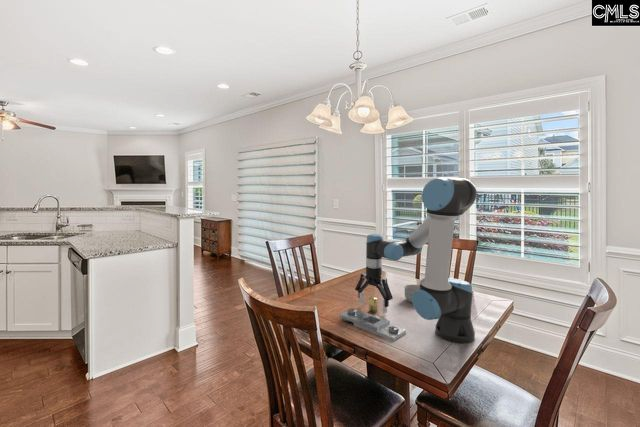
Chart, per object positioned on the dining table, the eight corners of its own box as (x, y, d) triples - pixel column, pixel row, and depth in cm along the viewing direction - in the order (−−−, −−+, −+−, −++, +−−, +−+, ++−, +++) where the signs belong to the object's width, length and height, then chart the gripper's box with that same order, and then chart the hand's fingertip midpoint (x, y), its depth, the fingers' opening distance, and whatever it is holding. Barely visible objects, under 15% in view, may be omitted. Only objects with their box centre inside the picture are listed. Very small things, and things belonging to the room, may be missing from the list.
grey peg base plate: (406, 333, 136) (406, 323, 136) (393, 341, 129) (393, 331, 129) (353, 314, 156) (353, 305, 155) (339, 320, 148) (339, 311, 148)
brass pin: (378, 311, 159) (379, 297, 158) (374, 314, 156) (374, 300, 155) (371, 309, 161) (372, 295, 161) (367, 311, 158) (367, 297, 158)
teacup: (401, 302, 171) (402, 287, 170) (406, 296, 180) (407, 282, 180) (429, 307, 164) (429, 292, 164) (432, 300, 174) (433, 286, 173)
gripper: (400, 270, 150) (399, 314, 153) (357, 260, 168) (357, 300, 170) (392, 273, 145) (390, 318, 147) (348, 263, 162) (348, 304, 164)
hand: (372, 308), depth 159 cm, fingers open, 13 cm apart
